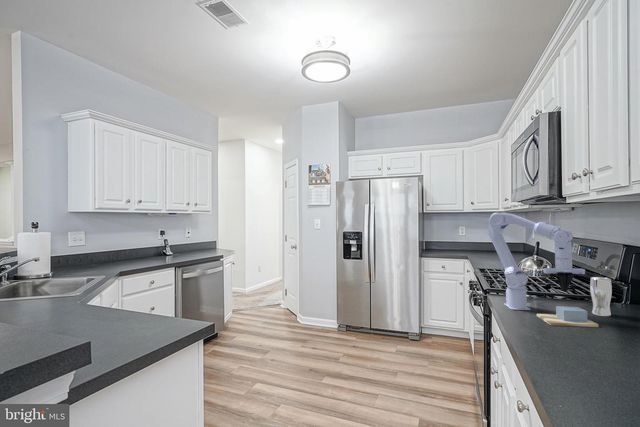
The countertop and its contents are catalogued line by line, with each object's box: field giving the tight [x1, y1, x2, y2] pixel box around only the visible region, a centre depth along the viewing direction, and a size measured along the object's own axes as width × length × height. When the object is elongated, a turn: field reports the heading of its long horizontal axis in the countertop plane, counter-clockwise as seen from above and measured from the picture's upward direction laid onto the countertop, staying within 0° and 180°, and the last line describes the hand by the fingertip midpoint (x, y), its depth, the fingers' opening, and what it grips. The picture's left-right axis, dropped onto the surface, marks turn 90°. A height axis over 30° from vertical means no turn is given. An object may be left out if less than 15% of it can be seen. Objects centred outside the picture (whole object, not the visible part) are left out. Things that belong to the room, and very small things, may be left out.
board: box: [536, 313, 600, 328], centre depth 131 cm, size 12×16×1 cm
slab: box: [555, 305, 588, 322], centre depth 131 cm, size 6×4×8 cm
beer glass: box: [589, 276, 613, 317], centre depth 139 cm, size 7×7×15 cm
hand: (564, 291), depth 138 cm, fingers closed
